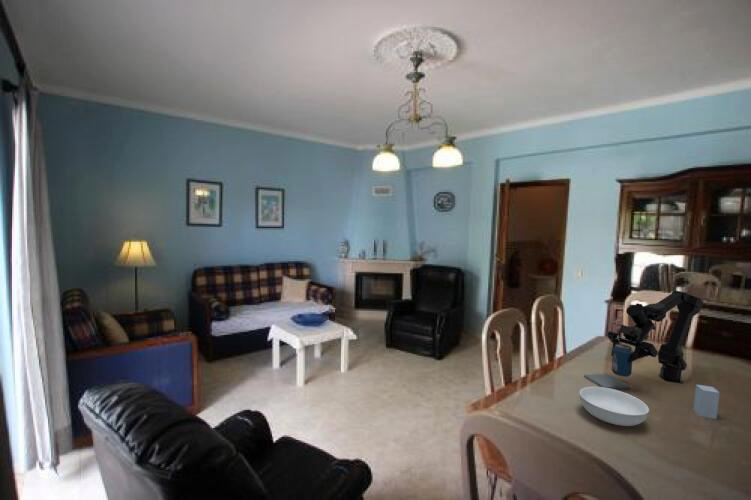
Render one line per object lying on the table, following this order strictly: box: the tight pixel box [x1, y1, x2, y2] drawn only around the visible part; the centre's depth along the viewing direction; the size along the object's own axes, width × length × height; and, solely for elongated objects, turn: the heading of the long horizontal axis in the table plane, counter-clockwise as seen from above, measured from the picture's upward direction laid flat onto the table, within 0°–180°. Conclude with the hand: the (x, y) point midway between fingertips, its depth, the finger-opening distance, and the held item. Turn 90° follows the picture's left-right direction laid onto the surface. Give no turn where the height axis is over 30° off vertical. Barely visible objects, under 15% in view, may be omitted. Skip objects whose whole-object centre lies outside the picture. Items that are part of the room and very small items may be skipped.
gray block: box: [692, 384, 720, 420], centre depth 138 cm, size 5×5×10 cm
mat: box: [583, 373, 630, 390], centre depth 164 cm, size 12×12×1 cm
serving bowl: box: [579, 386, 650, 427], centre depth 134 cm, size 21×21×7 cm
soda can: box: [611, 343, 634, 378], centre depth 156 cm, size 7×7×12 cm
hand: (619, 358), depth 156 cm, fingers closed on soda can, 7 cm apart
